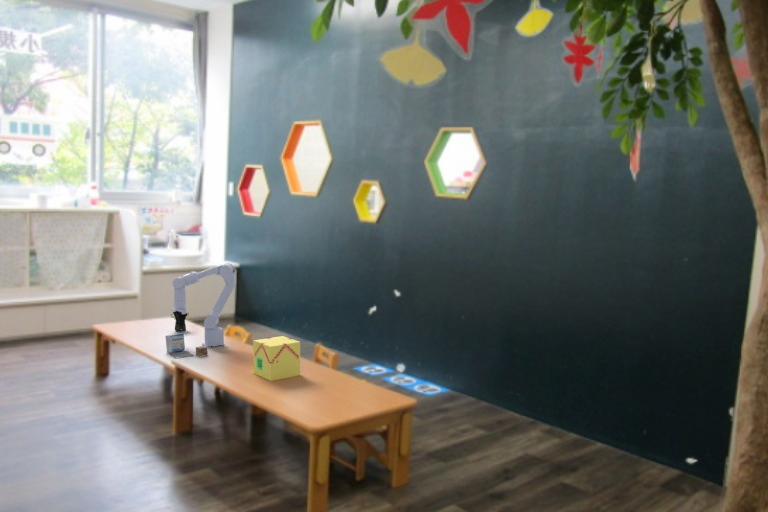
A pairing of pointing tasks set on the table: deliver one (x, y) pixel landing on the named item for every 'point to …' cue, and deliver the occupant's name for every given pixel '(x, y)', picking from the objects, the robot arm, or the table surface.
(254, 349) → the toy block
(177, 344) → the medicine box
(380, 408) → the table surface
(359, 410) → the table surface
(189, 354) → the mat
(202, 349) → the walnut block
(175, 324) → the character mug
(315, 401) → the table surface
